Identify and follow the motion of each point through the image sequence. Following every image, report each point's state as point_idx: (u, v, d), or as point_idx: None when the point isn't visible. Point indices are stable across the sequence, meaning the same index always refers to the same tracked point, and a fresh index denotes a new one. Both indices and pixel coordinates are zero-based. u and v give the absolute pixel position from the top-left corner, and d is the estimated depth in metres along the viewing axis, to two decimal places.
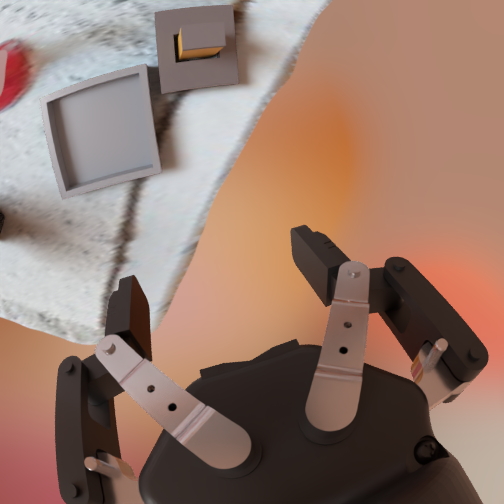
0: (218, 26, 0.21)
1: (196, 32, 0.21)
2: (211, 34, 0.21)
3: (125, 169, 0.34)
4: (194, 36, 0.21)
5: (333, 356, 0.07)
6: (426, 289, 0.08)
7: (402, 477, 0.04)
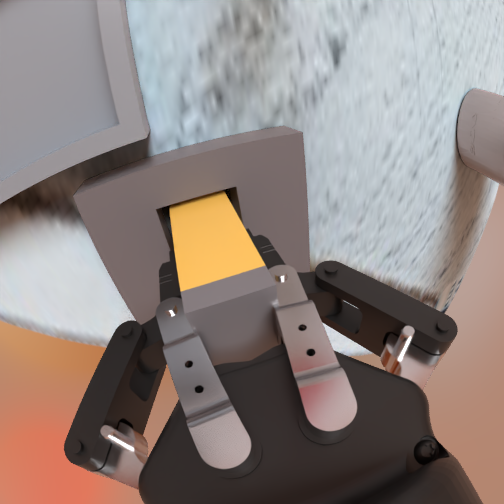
0: None
1: (249, 324, 0.09)
2: (245, 349, 0.10)
3: None
4: (235, 324, 0.09)
5: (333, 356, 0.07)
6: (368, 284, 0.09)
7: (402, 477, 0.04)
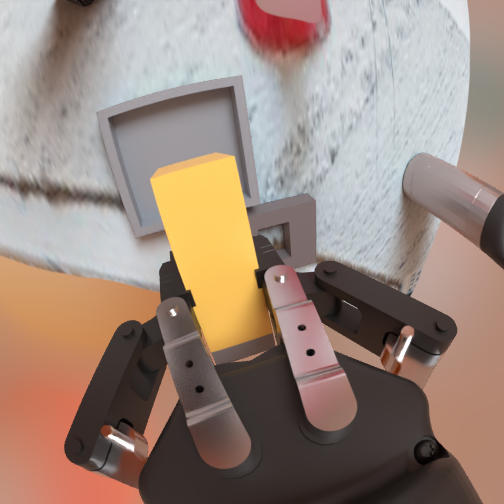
0: None
1: None
2: None
3: (133, 188, 0.29)
4: None
5: (333, 356, 0.07)
6: (367, 284, 0.09)
7: (402, 477, 0.04)
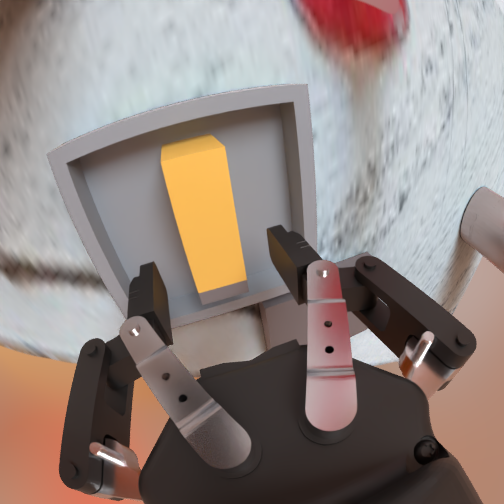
0: None
1: None
2: None
3: (125, 267, 0.19)
4: None
5: (333, 356, 0.07)
6: (401, 284, 0.09)
7: (402, 477, 0.04)
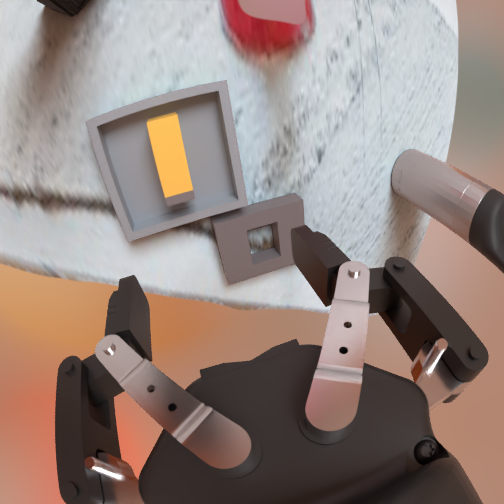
0: None
1: None
2: None
3: (124, 194, 0.29)
4: None
5: (333, 356, 0.07)
6: (426, 289, 0.08)
7: (402, 477, 0.04)
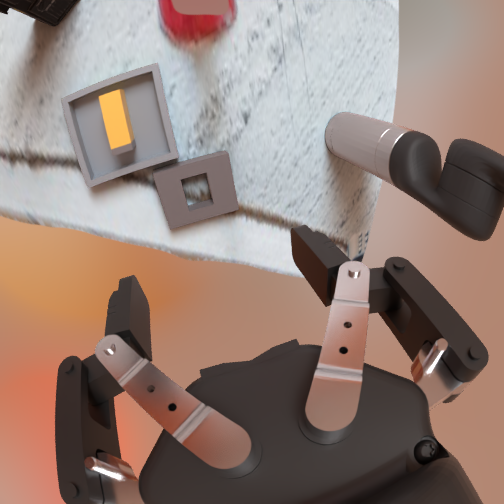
0: None
1: None
2: None
3: (87, 152, 0.35)
4: None
5: (333, 356, 0.07)
6: (426, 289, 0.08)
7: (402, 477, 0.04)
